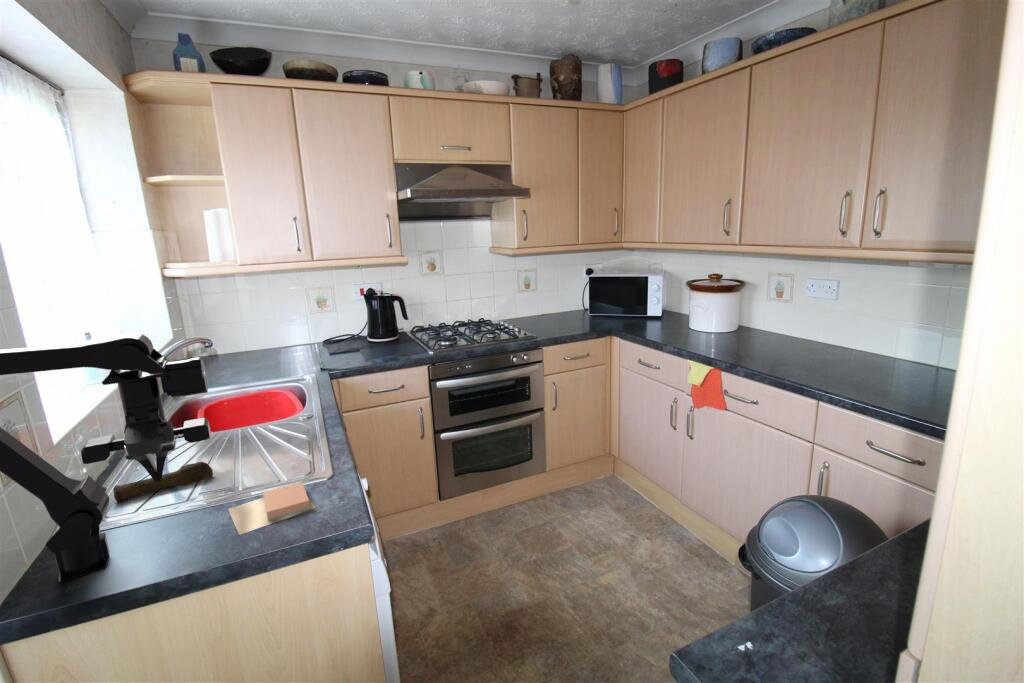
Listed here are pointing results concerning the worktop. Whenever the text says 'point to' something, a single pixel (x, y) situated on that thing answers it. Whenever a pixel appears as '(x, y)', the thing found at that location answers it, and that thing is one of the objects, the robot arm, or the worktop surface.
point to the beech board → (255, 515)
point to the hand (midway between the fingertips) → (158, 481)
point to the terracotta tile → (286, 501)
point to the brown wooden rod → (164, 481)
